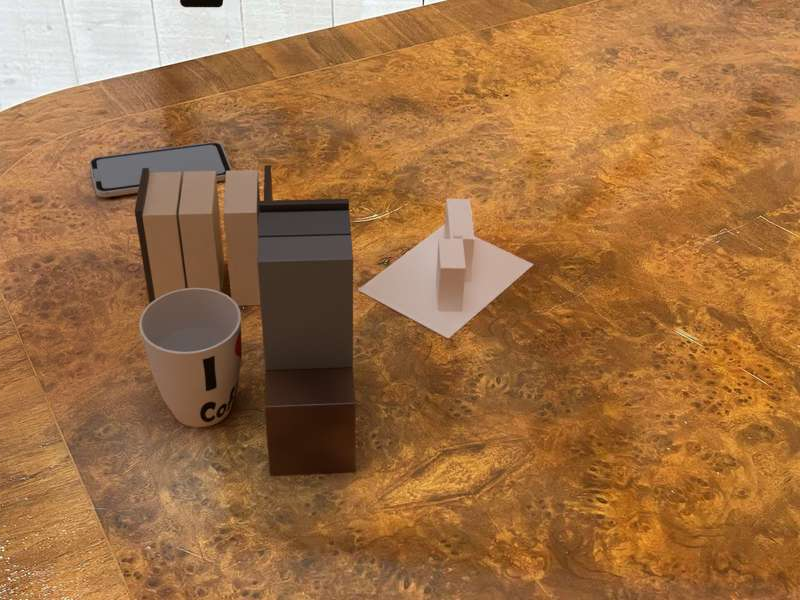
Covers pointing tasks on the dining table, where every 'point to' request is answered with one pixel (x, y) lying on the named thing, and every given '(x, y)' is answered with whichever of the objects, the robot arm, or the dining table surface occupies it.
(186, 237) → the slotted desk organizer
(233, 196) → the tan rectangular block
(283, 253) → the grey books
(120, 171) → the smartphone
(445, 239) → the napkin holder
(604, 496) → the dining table surface
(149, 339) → the cup
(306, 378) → the dark brown box
